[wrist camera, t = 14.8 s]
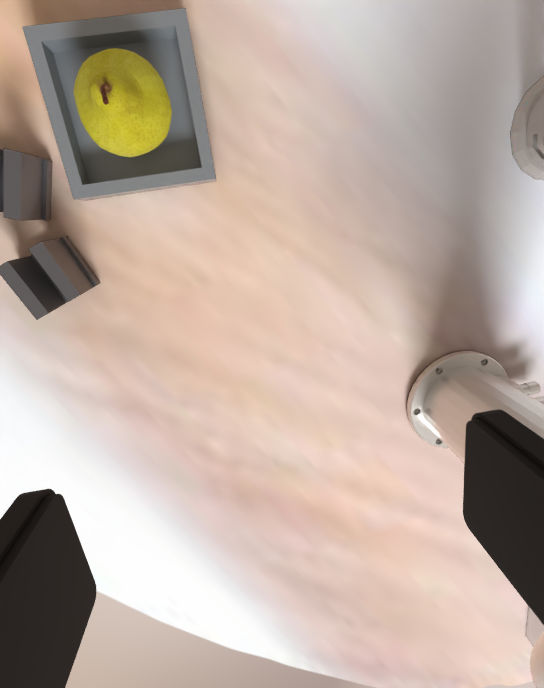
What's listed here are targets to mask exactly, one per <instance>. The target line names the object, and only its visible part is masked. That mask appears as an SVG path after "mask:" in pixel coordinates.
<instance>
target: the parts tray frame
mask: <svg viewBox="0 0 544 688" xmlns="http://www.w3.org/2000/svg"><path fill="white" fill-rule="evenodd" d="M543 632H544V625H543V624H542V623H541V621H540V620H539V619H538V617H537V616H536V615H535V614H534V612H533V611H532V610H531V608H530V607H529V609H528V618H527V627H526V637H527V639H528V640H529V641H530V643H531V644H532V646H533V647H534V645H535V643H536V641H537V640H538V638H539V637H540V636H541V635H542V633H543Z"/></svg>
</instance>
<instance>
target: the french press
mask: <svg viewBox="0 0 544 688" xmlns="http://www.w3.org/2000/svg"><path fill="white" fill-rule="evenodd" d="M510 136H511V145H512V154H513V156H514V158H515V160H516V161H517V163H518V165H519V167H520V169H521V170H522V171H524V172H525V173H527V174H528V175H530V176H531V177H533V178H534V179H541V180H544V76H543V77H542V78H541V79H540V80H539V81H538V82H537V83H536V84H534V85H533V86H532V87H531V88H530V89H529V90H528V91H527V92H526V94H525V95H524V97H523V99H522V101H521V102H520V104H519V106H518V108H517V109H516V111H515V115H514V119H513V124H512V128H511V133H510Z"/></svg>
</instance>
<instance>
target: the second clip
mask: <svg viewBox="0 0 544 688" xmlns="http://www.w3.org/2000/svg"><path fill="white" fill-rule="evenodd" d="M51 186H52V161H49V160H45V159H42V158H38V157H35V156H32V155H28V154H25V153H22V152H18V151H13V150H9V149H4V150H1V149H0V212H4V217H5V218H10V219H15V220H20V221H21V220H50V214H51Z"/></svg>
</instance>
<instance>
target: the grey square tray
mask: <svg viewBox="0 0 544 688" xmlns="http://www.w3.org/2000/svg"><path fill="white" fill-rule="evenodd" d="M23 31H24V34H25V37H26V41H27V44H28V47H29V51H30V54H31V57H32V61H33V64H34V68H35V71H36V74H37V78H38V81H39V84H40V88H41V91H42V94H43V98H44V101H45V105H46V108H47V111H48V115H49V118H50V121H51V125H52V128H53V131H54V135H55V138H56V142H57V145H58V148H59V152H60V155H61V158H62V162H63V165H64V169H65V172H66V175H67V179H68V182H69V185H70V189H71V192H72V195H73V199H74V200H92V199H99V198H106V197H112V196H119V195H126V194H133V193H140V192H146V191H153V190H160V189H167V188H173V187H180V186H187V185H194V184H201V183H207V182H214V181H216V176H215V171H214V165H213V159H212V154H211V148H210V142H209V137H208V131H207V126H206V120H205V114H204V109H203V103H202V98H201V92H200V86H199V81H198V75H197V69H196V64H195V58H194V53H193V47H192V41H191V36H190V30H189V24H188V19H187V13H186V8H182V9H174V10H165V11H156V12H147V13H138V14H130V15H121V16H112V17H103V18H94V19H86V20H77V21H68V22H59V23H50V24H41V25H33V26H24V27H23ZM112 48H117V49H124V50H128V51H131V52H135V53H136V54H138V55H139V56H141V57H143V58H144V59H146V60H147V61H148V62H149V63H150V64H151V65H152V66H153V67H154V68H155V70H156V71H157V72H158V74H159V75H160V77H161V78H162V80H163V82H164V85H165V87H166V90H167V93H168V96H169V99H170V103H171V108H172V116H171V123H170V128H169V131H168V134H167V136H166V138H165V139H164V141H163V142H162V143H161V144H160V145H159V146H158V147H156V148H155V149H153V150H151V151H150V152H148V153H145V154H142V155H139V156H134V157H125V156H119V155H116V154H113V153H110V152H108V151H106V150H104V149H102V148H101V147H99V146H98V145H97V144H96V143H95V142H94V141H93V139H92V138H91V137H90V135H89V134H88V132H87V131H86V129H85V127H84V126H83V124H82V122H81V119H80V116H79V113H78V110H77V106H76V102H75V97H74V84H75V80H76V77H77V74H78V71H79V69H80V67H81V66H82V64H83V63H84V62H85V61H86V60H87V59H88V58H89V57H90V56H92V55H94V54H96V53H98V52H101V51H103V50H106V49H112Z"/></svg>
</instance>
